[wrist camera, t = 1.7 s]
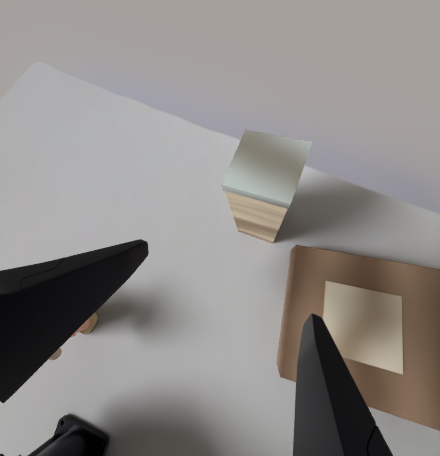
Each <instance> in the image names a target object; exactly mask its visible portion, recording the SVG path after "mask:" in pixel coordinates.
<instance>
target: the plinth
mask: <svg viewBox="0 0 440 456" xmlns="http://www.w3.org/2000/svg"><path fill="white" fill-rule="evenodd" d="M311 313H314V314H316V315H318V316H320V317H322V319H323V320H324V322H325V324H326V326H327V328H328V330H329V332H330V334H331V336H332V338H333V340H334V342H335V344H336V346H337V348H338V350H339V352H340V354H341V356H342V358H343V359H344V361H345V363H346V365H347V367H348V369H349V371H350V373H351V375H352V377H353V379H354V381H355V383H356V385H357V387H358V389H359V391H360V393H361V395H362V397H363V399H364V401H365V403H366V404H367V406H368V407H371V408H374V409H377V410H380V411H383V412H386V413H389V414H392V415H395V416H398V417H401V418H404V419H407V420H410V421H413V422H416V423H419V424H422V425H425V426H428V427H430V428H433V429H436V430H439V431H440V270H439V269H434V268H428V267H422V266H416V265H410V264H404V263H399V262H393V261H387V260H381V259H375V258H369V257H364V256H358V255H352V254H346V253H340V252H335V251H329V250H323V249H317V248H311V247H305V246H300V245H296V246H295V247H294V248H293V249H291V255H290V263H289V271H288V278H287V286H286V294H285V302H284V310H283V318H282V326H281V333H280V341H279V349H278V357H277V366H278V370H279V373H280V377H282V378H285V379H288V380H291V381H294V382H296V375H297V360H298V354H299V348H300V341H301V335H302V329H303V325H304V323H305V321H306V320H307V318H308V317H309V315H310V314H311Z"/></svg>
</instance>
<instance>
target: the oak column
mask: <svg viewBox="0 0 440 456" xmlns="http://www.w3.org/2000/svg"><path fill="white" fill-rule="evenodd" d="M311 144H312V142H309V141H303V140H298V139H292V138H287V137H282V136H276V135H271V134H265V133H260V132H255V131H250V130H245V132H244V135H243V137H242V139H241V141H240V144H239V146H238V148H237V150H236V153H235V155H234V157H233V160H232V162H231V164H230V166H229V169H228V171H227V173H226V175H225V178H224V180H223V182H222V187H223V190H225V193H226V196H227V199H228V202H229V205H230V208H231V211H232V214H233V217H234V220H235V222H236V225H237V228H238V231H239V232H242V233H245V234H247V235H250V236H253V237H256V238H259V239H262V240H265V241H267V242H270V243H273V242H274V240H275V237H276V235H277V233H278V230H279V228H280V226H281V223H282V221H283V219H284V216H285V214H286V212H287V209H289V207H290V205H291V202H292V199H293V196H294V193H295V190H296V188H297V185H298V182H299V179H300V176H301V173H302V170H303V167H304V164H305V161H306V159H307V156H308V153H309V150H310V147H311Z"/></svg>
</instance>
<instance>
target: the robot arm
mask: <svg viewBox="0 0 440 456" xmlns="http://www.w3.org/2000/svg"><path fill="white" fill-rule="evenodd" d="M147 256H148V243H147V242H146V241H144V240H141V239H140V240H135V241H131V242H127V243H123V244H119V245H115V246H110V247H106V248H102V249H98V250H94V251H90V252H86V253H82V254H77V255H73V256H69V257H67V258H66V257H65V258H61V259H57V260H52V261H48V262H43V263H39V264H34V265H28V266H23V267H18V268H13V269H7V270H2V271H0V401H1V402H2V403H4V402H5V401H7V400H8V399H9V398H10V397H11V396H12V395H13V394H14V393H15V392H16V391H17V390H18V389H19V388H20V387H21V386H22V385H23V384H24V383H25V382H26V381H27V380H28V379H29V378H30V377H31V376H32V375H33V374H34V373H35V372H36V371H37V370H38V369H39V368H40V367H41V366H42V365H43V364H44V363H45V362H46V361H47V360H48V359H49V358H50V357H51V356H52V355H53V354H54V353H55V352H56V351H57V350H58V349H59V347H61V346H62V345H63V344H64V343H65V342H66V341H67V340H68V339H69V338H70V337H71V336H72V335H73V334H74V333H75V332H76V331H77V330H78V329H79V328H80V327H81V326H82V325H83V324H84V323H85V322H86V321H87V320H88V319H89V318H90V317H91V316H92V315H93V314H94V313H95V312H96V311H97V310H98V309H99V308H100V307H101V306H102V305H103V304H104V303H105V302H106V301H107V300H108V299H109V298H110V297H111V296H112V295H113V294H114V293H115V292H116V291H117V290H118V289H119V288H120V287H121V286H122V285H123V284H124V283H125V282H126V281H127V280H128V279H129V278H130V277H131V275H132V274H133V273H134V272H135V271H136V269H137V268H138V267H139V266H140V265H141V263H142V262H143V261H144V260H145V258H146V257H147ZM103 442H104V444H103ZM108 443H109V439H108V437H107V436H106V435H104V434H102V433H100V432H98V431H96V430H94V429H93V428H91V427H89V426H87V425H85V424H83V423H81V422H79V421H77V420H75V419H73V418H71V417H70V416H68V415H65V416H63V417H62V418H61V419H60V420H59V422H58V425H57V428H56V431H55V433H54V436H53V437H52V438H50V439H49V440H48V441H47V442H45V443H44V444H43V445H41V446H40V447H39V448H37V449H36V450H35V451H33V452H32V453H31V454H29V455H28V456H105V453H106V450H107V447H108ZM0 456H4V455H3V454H0ZM19 456H21V455H19ZM293 456H393V455H392V453H391V451H390V449H389V447H388V445H387V443H386V441H385V440H384V438H383V436H382V434H381V432H380V430H379V428H378V426H377V425H376V422H375V420H374V418H373V416H372V414H371V412H370V410H369V408H368V406H367V404H366V403H365V401H364V399H363V397H362V395H361V393H360V391H359V389H358V387H357V385H356V383H355V381H354V379H353V377H352V375H351V373H350V371H349V369H348V367H347V365H346V363H345V361H344V359H343V358H342V356H341V354H340V352H339V350H338V348H337V346H336V344H335V342H334V340H333V338H332V336H331V334H330V332H329V330H328V328H327V326H326V324H325V322H324V320H323V319H322V317H320V316H318V315H316V314H314V313H311V314H310V315H309V317H308V318H307V320H306V321H305V323H304V325H303V329H302V335H301V341H300V348H299V354H298V360H297V375H296V398H295V422H294V445H293Z"/></svg>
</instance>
